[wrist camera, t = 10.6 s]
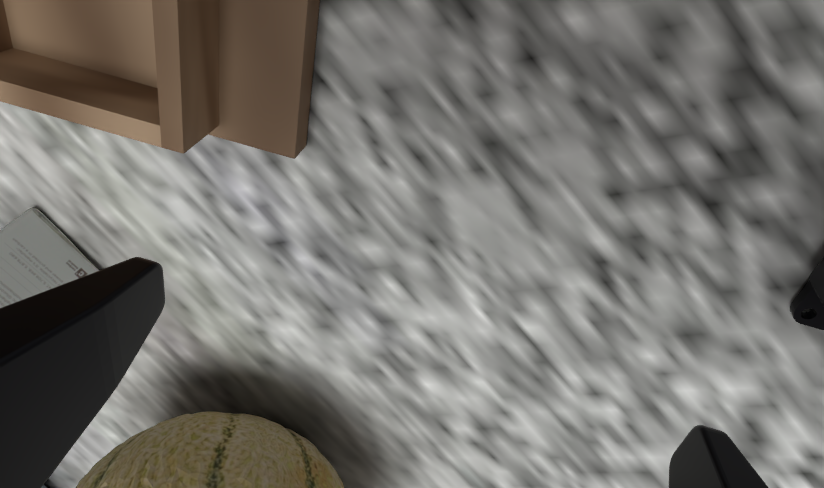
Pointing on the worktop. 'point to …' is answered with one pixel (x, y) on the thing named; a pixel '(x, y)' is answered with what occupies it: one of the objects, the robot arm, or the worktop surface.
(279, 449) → the cantaloupe
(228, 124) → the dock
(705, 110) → the worktop surface
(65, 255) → the skincare box
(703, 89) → the worktop surface
